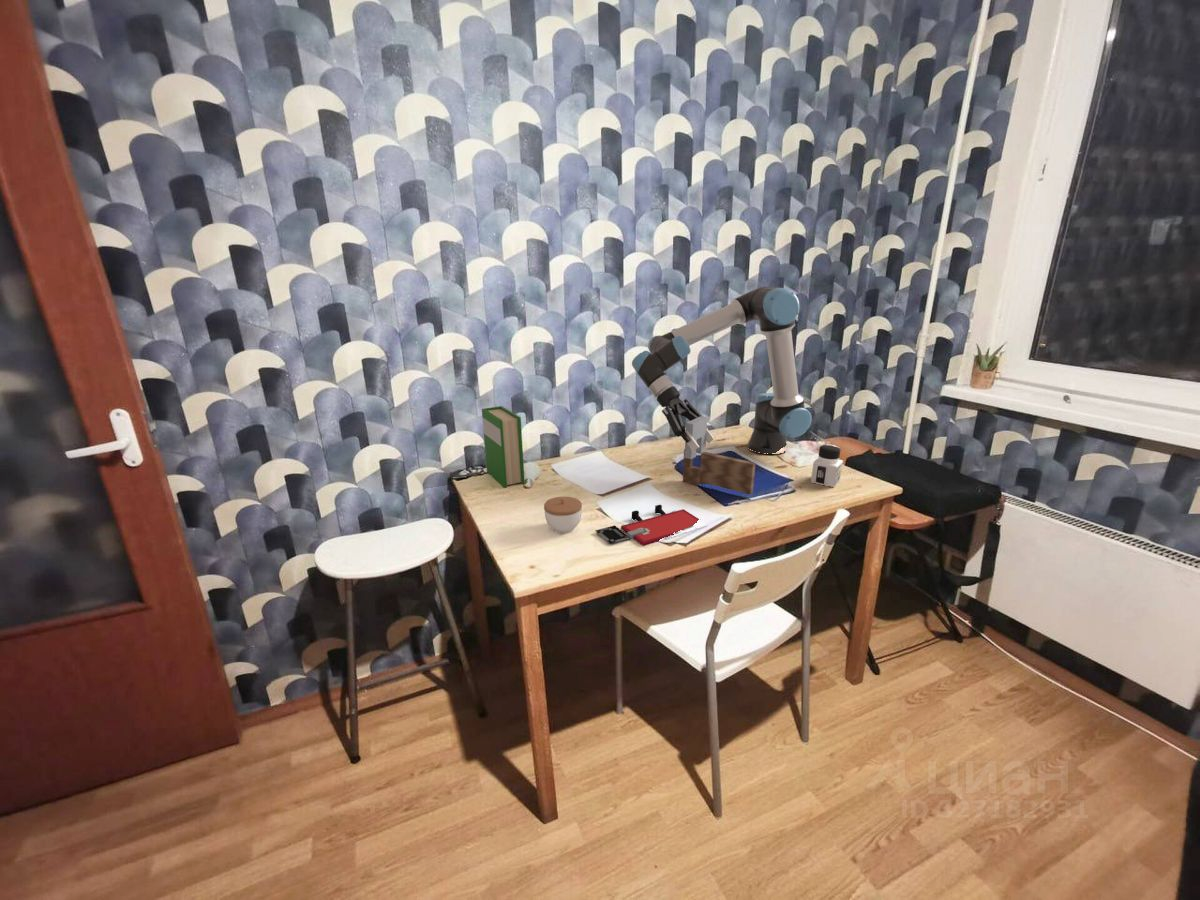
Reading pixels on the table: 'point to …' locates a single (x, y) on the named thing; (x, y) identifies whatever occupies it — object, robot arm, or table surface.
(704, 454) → the walnut slotted board
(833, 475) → the container
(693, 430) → the grey slotted plate
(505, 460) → the hardback book
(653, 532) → the red board with handle
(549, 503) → the lidded jar
